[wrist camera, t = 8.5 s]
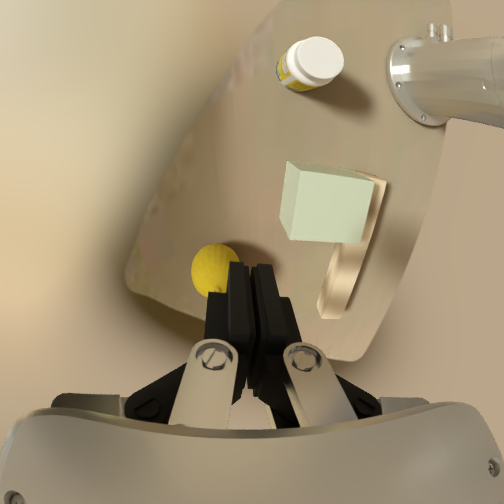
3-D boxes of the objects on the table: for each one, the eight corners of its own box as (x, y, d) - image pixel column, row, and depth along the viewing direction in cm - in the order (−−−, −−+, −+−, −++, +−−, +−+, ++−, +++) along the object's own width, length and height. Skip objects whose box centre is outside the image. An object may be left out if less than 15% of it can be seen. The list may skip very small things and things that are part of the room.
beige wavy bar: (354, 170, 30) (365, 176, 27) (374, 175, 31) (387, 181, 28) (316, 305, 39) (321, 318, 37) (334, 305, 40) (340, 318, 37)
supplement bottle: (325, 77, 25) (359, 66, 17) (295, 100, 26) (320, 95, 18) (297, 45, 23) (322, 23, 15) (265, 68, 24) (280, 50, 17)
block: (286, 160, 29) (300, 170, 24) (350, 169, 30) (374, 181, 25) (279, 218, 32) (289, 239, 27) (339, 222, 33) (359, 243, 28)
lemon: (247, 245, 34) (253, 282, 27) (226, 278, 36) (227, 319, 29) (207, 225, 32) (202, 258, 25) (187, 261, 34) (179, 300, 27)
